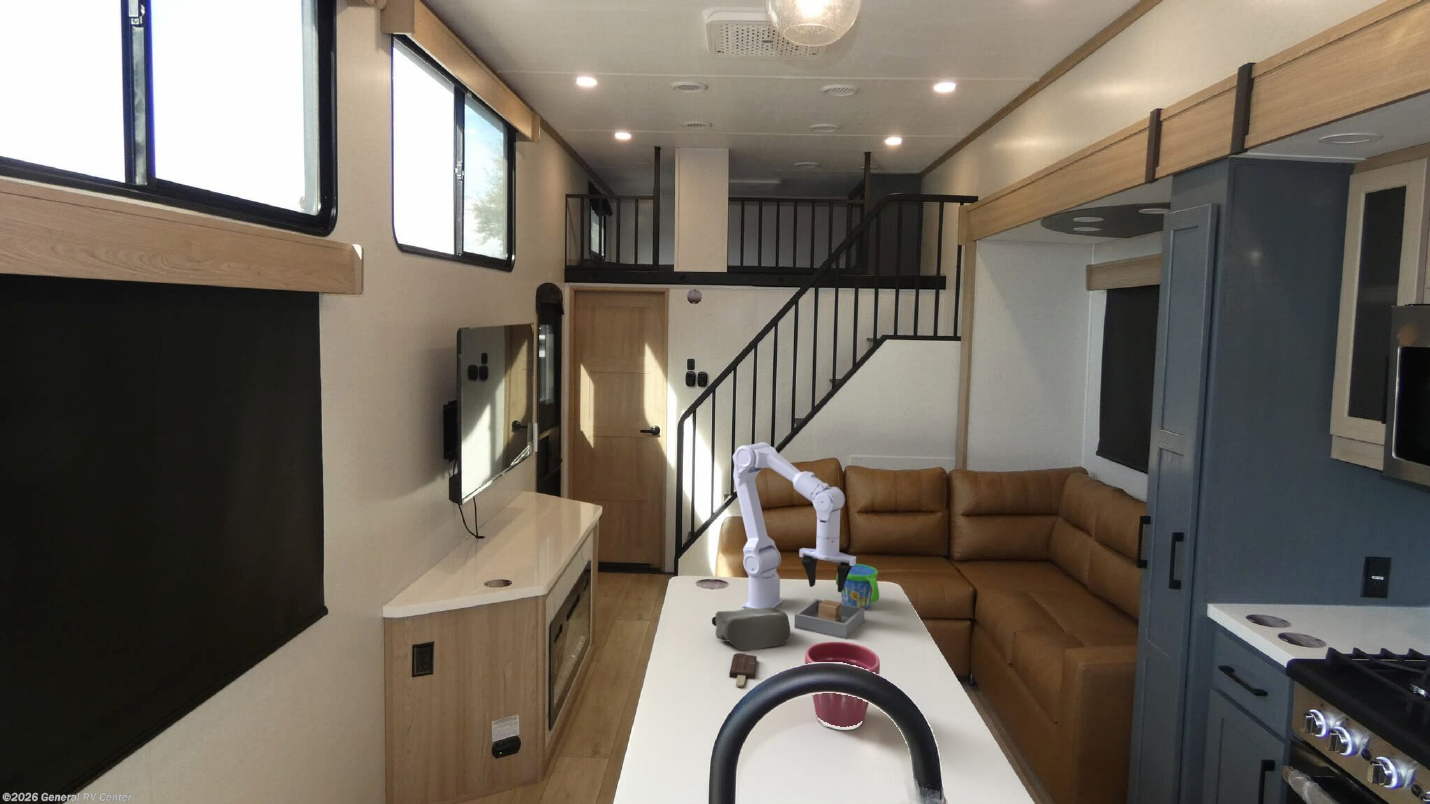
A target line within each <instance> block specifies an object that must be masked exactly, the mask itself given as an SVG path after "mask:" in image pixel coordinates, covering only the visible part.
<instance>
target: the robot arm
mask: <svg viewBox="0 0 1430 804" xmlns="http://www.w3.org/2000/svg"><path fill="white" fill-rule="evenodd" d="M732 460H733V465H734V468H733V474H732V475H733V481H734V482H733V483H734V486H735V490H736V495H737V498H738V504H739V508H740V512H741V517H742V521H743V526H744V529H745V534H746V539H747V541H746V543H745V544H744V546H743V549H742V551H743V561H742V564H743V567H744V570H745V572H746V573H747V576H748V584H747V585H748V587H747V591H748V593H747V601H746V602H744V603H743V604H741V607H742V608H763V607H772V608H776V607H778V606H779V605H780V604H782V603H783V602H784V601H783V600H782V599H780V597H781V596H780V592H781V579H780V575H779V573H778V572H777V568H779V566H780V564H781V562H782V557H781V556H782V555H781V553H780V551H779V550H778V548H777V546H776V543H775V540H773V539H772V538H771V537H769V536H768V532H767V529H766V523H765V519H764V514H763V510H762V506H761V501H760V498H759V497H760V496H759V492H758V489H757V484H756V478H757V476H758V475H759V473H760V472H761V471H762V470H763V469H765V468H767V469H771V470H773V471H775V472H776V473H777V474H779V475H780V476H782V477H784V478H785V479H787V480H789V481H790V482H791V483H793V489H794V490H795V491H796V492H797V493H799V494H801V495H802V496H803V497H804V498H806V499H807V500H809V501H810V502H811V503H812V504H813V505H812V506H813V508H814V509H815V512H816V541H815V542H816V547H815V548H805V547H802V548H799V558H802V559H801V564H802V566H803V568H804V571H805V573H806V575H807V579H808V584H809V587H810V588H813V587H814V586H815V585H816V581H817V580H816V579H817V578H816V570H817V566H818V565H817V564H818V560H821V561H825V562H826V561H828V562H831V563H832V562H833V563H838V565H837V566H836V570H837V573H838V585H837V593H841V592H842V591H843V589H844V585H845V581H846V578H847V576H848V574H849V572H850V570H851V568H852V566H854V565H855V564H857V556H854V555H850V554H846V553H843V552H840V529H841V509H842V508H843V507H844V506H845V501H846V497H845V494H844V493H843V491H842V490H841V489H840V488H839V487H837V486H830V485H829V483H827V482H825V483H824V482H823V480H820V479H819V478H818V477H816V476H815V475H816V473H814V472H813V471H807V470H805V471H801V470H799V469H798V468H796V466H794V465H793V464H792V463H791V462H789V461H788V460H787V459H786V458H784V457H783V456H782V455H781V454H779V453H778V451H777V450H776V448H775V447H773V446H771V445H770V444H769V443H767V442H764V441H763V442H759V443H753V444H749V445H748V444H747V445H740V446H738V448H737V449H736V450H735V452H734V453H733V455H732Z"/></svg>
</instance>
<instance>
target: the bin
mask: <svg viewBox="0 0 1430 804" xmlns="http://www.w3.org/2000/svg"><path fill="white" fill-rule="evenodd" d="M824 600H825V599H824ZM824 600H823V599H819V598H815V599H813V600H812V601H810V603H808V604H807V605H805V606H804V607H802V608H801V609H800V610H799V611H797V612H796V613H794V629H798V630H803V631H807V632H812V633H817V634H821V635H825V636H829V635H830V636H831V637H835V638H839V637H840V639H843V638H844V639H845V640H846V639H847V638H848V637H850V636H851V635H852V634H853V633H854V632H855V631H856V630H857V629H858V628H859V627H861V625H862V624H863V623H865V619H866V618H865V617H866V616H865V613H866V609H865V608H861V607H856V606H850V605H845V604H843V603H842V609H841V622H835V621H830V620H825V619H821V618H818V608H819V604H820V603H821V602H823V601H824ZM852 632H853V633H852ZM849 635H850V636H849ZM830 636H829V637H830Z"/></svg>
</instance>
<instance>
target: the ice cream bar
mask: <svg viewBox="0 0 1430 804" xmlns="http://www.w3.org/2000/svg"><path fill="white" fill-rule="evenodd" d="M757 661H758V657H757V655H750V654H747V653H741V652H740V653H739V652H738V653H737V652H736V653H734V654H733V656H732V661H731V665H730V669H729V673H728V674H729V676H728V678H731V679H736V682H735V686H736V687H737V688H743V687H745V681H746V680H754V679H755V673H756V668H757Z"/></svg>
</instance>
